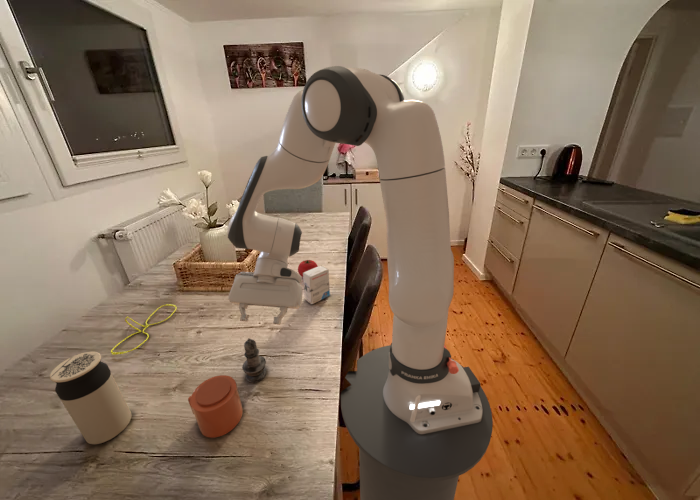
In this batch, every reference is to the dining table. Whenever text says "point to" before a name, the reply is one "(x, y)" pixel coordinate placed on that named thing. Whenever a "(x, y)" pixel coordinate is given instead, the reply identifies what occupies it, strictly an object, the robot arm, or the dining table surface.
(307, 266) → the tomato
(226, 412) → the coffee cup
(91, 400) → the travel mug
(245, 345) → the grey chess piece
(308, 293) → the ink box
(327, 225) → the dining table surface
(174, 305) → the yellow rope bow
